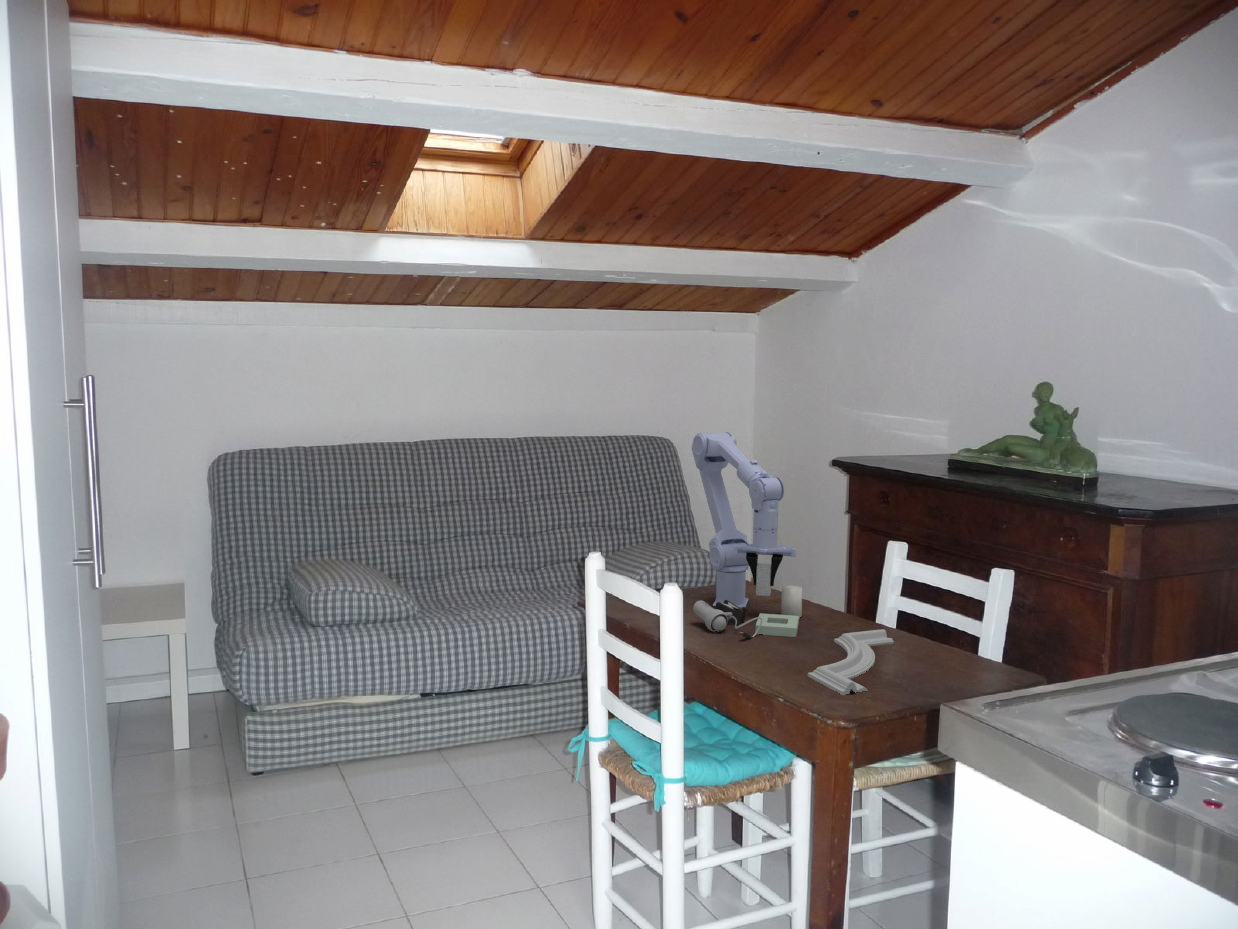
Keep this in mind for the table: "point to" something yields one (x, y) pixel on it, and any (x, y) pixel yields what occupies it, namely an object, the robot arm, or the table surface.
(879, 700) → the table surface
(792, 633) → the socket board
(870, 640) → the molding
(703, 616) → the clip-on lamp
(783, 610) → the cream round peg
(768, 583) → the steel square peg
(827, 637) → the table surface
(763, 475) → the robot arm
